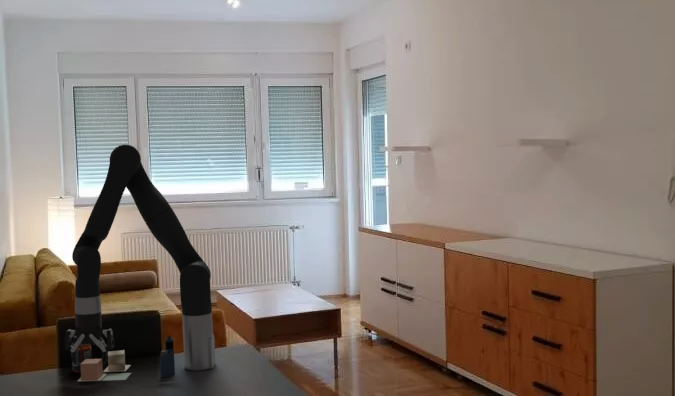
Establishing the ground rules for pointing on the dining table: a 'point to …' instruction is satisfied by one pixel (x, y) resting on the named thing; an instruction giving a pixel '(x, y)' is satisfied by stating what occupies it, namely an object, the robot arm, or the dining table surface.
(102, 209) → the robot arm
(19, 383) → the dining table surface
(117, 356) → the maple block
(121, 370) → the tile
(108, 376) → the sage pad
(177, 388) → the dining table surface
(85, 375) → the terracotta block
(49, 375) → the dining table surface
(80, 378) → the tile
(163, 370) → the vaping device
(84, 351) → the supplement bottle
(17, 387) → the dining table surface
